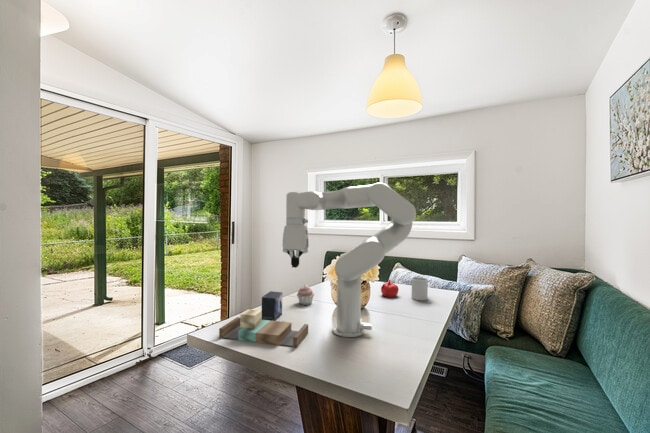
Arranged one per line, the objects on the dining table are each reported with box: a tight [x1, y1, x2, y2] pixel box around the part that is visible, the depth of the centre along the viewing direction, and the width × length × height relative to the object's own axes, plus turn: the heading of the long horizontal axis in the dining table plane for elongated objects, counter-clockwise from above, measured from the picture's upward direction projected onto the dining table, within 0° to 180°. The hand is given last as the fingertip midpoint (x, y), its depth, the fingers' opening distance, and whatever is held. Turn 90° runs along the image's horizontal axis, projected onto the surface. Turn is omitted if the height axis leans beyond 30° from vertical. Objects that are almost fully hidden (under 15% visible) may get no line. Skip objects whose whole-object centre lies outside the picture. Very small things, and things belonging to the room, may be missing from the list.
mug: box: [411, 276, 429, 301], centre depth 171 cm, size 12×8×11 cm
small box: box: [261, 290, 283, 321], centre depth 137 cm, size 11×6×10 cm, turn 168°
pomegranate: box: [380, 279, 399, 298], centre depth 175 cm, size 10×10×9 cm
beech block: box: [239, 308, 262, 329], centre depth 118 cm, size 6×6×5 cm
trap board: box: [218, 316, 309, 348], centre depth 117 cm, size 31×13×4 cm, turn 76°
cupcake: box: [296, 284, 315, 306], centre depth 159 cm, size 9×9×10 cm
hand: (295, 266), depth 125 cm, fingers closed
